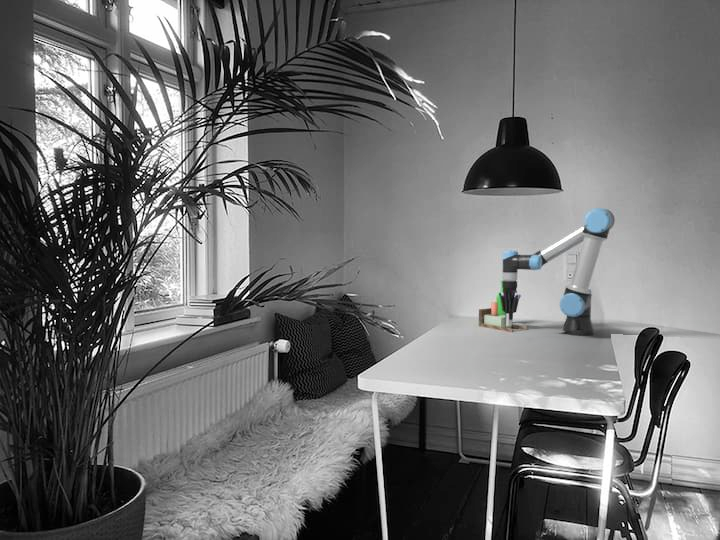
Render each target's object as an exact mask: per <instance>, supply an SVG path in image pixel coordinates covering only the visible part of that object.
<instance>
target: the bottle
mask: <svg viewBox="0 0 720 540" xmlns="http://www.w3.org/2000/svg"><path fill="white" fill-rule="evenodd" d="M500 281H501V282H500V284H501V285H500V287H501V288H500V291H499V293H502V292H503V287H502V281H504V280H503V279H501V280H500ZM499 293H498V294H497V296H496V302H498V315H505V316H506V313H505V312H503V310H502V305H501V299H500V296H499Z"/></svg>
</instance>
